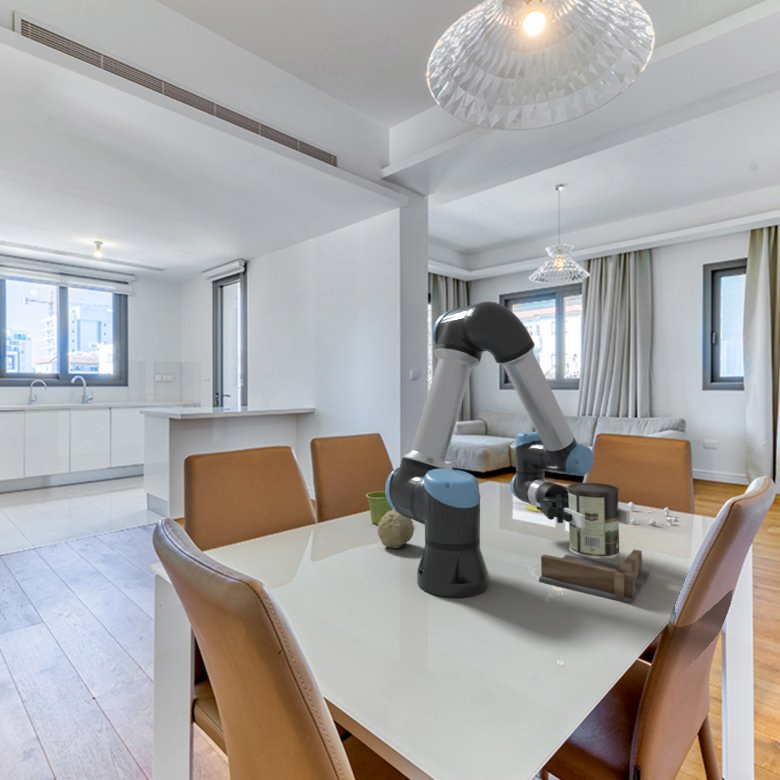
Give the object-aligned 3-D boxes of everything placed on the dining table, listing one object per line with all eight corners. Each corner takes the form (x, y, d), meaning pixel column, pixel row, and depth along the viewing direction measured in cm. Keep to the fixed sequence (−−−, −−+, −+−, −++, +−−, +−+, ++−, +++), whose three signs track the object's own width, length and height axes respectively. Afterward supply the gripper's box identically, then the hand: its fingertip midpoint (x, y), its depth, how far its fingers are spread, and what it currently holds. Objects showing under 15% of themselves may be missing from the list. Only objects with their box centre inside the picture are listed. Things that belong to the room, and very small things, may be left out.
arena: (631, 603, 92) (631, 577, 92) (539, 581, 103) (538, 558, 103) (649, 574, 106) (648, 551, 106) (566, 557, 117) (566, 537, 117)
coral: (423, 516, 131) (406, 508, 123) (413, 554, 128) (396, 549, 120) (393, 509, 136) (376, 501, 128) (383, 545, 133) (365, 540, 125)
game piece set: (607, 508, 166) (607, 497, 166) (675, 515, 157) (675, 503, 157) (606, 523, 148) (606, 510, 148) (682, 531, 139) (682, 517, 139)
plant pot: (396, 526, 146) (396, 497, 146) (365, 526, 146) (365, 498, 146) (396, 518, 155) (396, 491, 155) (367, 518, 155) (367, 491, 155)
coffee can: (607, 543, 110) (606, 482, 110) (628, 559, 100) (627, 491, 100) (562, 544, 111) (561, 482, 111) (579, 560, 100) (577, 492, 100)
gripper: (588, 508, 125) (652, 533, 104) (508, 514, 121) (557, 542, 99) (588, 479, 125) (651, 498, 104) (508, 484, 121) (557, 505, 99)
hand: (605, 519), depth 101 cm, fingers closed on coffee can, 10 cm apart
